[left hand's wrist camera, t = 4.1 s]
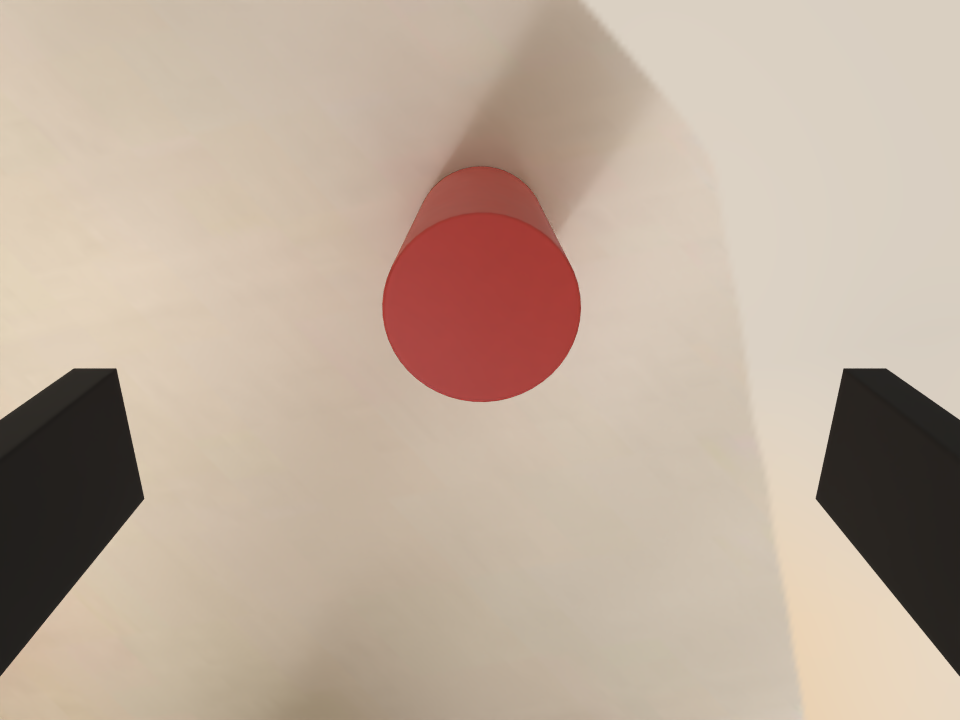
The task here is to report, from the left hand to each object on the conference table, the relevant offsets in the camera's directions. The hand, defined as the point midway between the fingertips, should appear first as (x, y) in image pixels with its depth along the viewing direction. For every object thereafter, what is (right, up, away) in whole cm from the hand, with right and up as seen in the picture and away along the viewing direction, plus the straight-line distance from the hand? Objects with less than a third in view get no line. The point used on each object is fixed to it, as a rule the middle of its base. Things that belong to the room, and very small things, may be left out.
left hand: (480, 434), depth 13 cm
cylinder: (0, +7, +18) cm, 19 cm away
